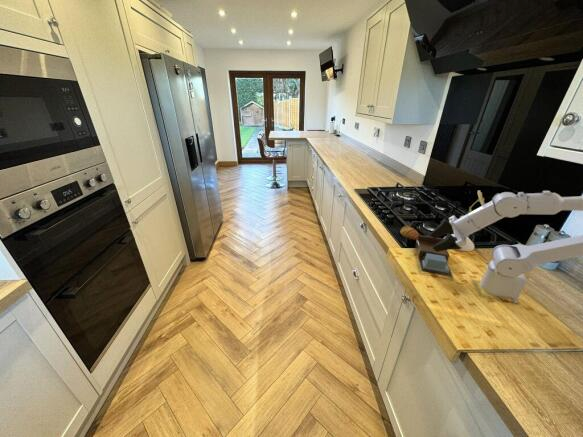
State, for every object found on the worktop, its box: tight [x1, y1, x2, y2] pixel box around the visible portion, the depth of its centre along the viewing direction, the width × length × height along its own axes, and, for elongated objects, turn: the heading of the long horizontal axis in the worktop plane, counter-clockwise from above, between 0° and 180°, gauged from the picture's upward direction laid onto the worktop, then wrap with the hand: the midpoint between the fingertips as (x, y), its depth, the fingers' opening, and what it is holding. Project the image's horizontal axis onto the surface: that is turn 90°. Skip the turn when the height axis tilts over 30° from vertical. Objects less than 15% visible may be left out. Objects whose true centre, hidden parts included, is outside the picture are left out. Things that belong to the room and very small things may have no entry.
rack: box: [414, 234, 454, 278], centre depth 90 cm, size 10×18×6 cm, turn 161°
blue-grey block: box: [422, 253, 450, 273], centre depth 86 cm, size 8×4×4 cm, turn 71°
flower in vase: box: [443, 190, 486, 252], centre depth 97 cm, size 13×11×25 cm
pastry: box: [399, 225, 421, 241], centre depth 108 cm, size 9×7×4 cm
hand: (433, 242), depth 81 cm, fingers open, 7 cm apart
